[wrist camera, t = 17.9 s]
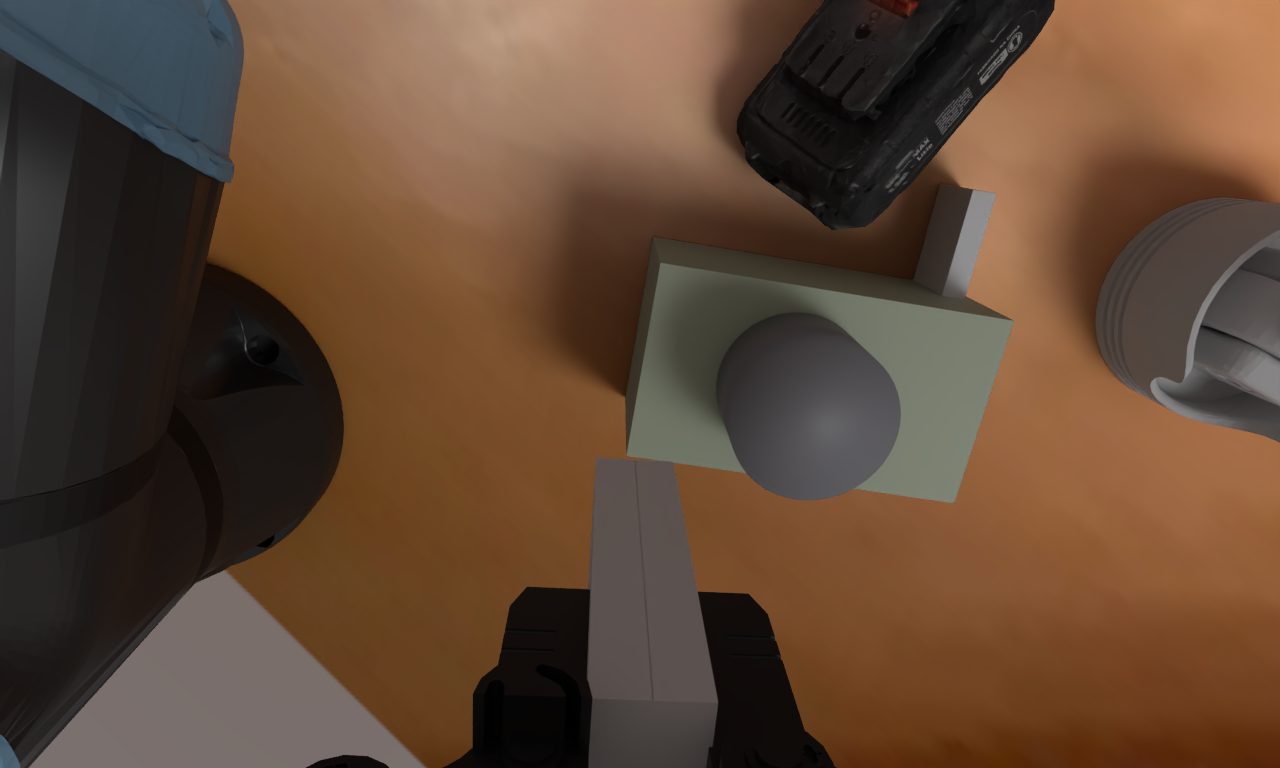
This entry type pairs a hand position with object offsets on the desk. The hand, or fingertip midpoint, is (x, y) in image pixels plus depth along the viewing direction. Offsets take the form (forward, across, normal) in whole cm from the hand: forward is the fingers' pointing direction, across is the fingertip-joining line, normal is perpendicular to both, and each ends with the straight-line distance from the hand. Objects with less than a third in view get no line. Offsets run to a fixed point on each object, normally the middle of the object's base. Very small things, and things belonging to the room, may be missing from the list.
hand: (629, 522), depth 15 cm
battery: (+23, +10, +10) cm, 27 cm away
